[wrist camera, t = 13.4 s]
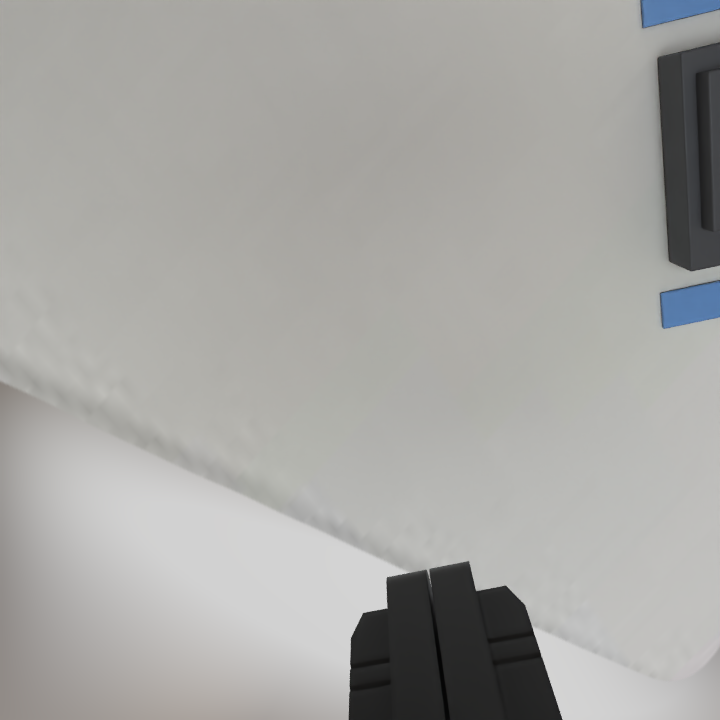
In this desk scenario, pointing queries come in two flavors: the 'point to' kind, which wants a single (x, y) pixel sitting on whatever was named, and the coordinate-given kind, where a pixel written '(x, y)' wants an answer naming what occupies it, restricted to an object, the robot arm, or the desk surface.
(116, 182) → the desk surface
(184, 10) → the desk surface
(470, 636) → the robot arm
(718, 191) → the dark raised-panel slab
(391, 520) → the desk surface
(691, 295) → the frame
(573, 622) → the desk surface
